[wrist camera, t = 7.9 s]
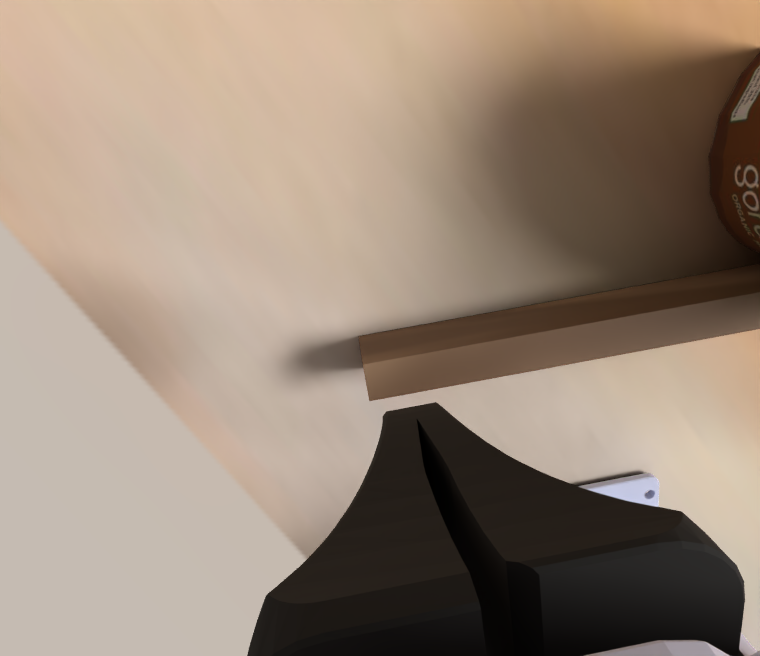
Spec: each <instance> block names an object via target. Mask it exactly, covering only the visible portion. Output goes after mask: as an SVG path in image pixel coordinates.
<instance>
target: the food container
mask: <svg viewBox="0 0 760 656" xmlns="http://www.w3.org/2000/svg"><path fill="white" fill-rule="evenodd" d="M709 181H710V195H711V198H712V201H713V204H714V206H715V209H716V212H717V215H718V218H719V219H720V221H721V222H722V224H723V225H724V227H725V228H726V230H727V231H728V232H729V233H730V234H731V235H732V236H733V237H734V238H735V239H736V240H737V241H738V242H740V243H741V244H743V245H744V246H746V247H748V248H749V249H751V250H754V251H756V252H759V253H760V53H759V54H758V55H757V57H756V58H755V59H754V60H753V61H752V63H751V64H750V65H749V66H748V67H747V68H746V70H745V71H744V72H743V73H742V74H741V76H740V78H739V80H738V81H737V83H736V85H735V87H734V89H733V91H732V93H731V94H730V96H729V98H728V100H727V102H726V104H725V106H724V107H723V109H722V111H721V113H720V115H719V118H718V122H717V126H716V130H715V134H714V138H713V142H712V146H711V149H710V153H709Z"/></svg>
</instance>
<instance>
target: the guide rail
mask: <svg viewBox="0 0 760 656" xmlns="http://www.w3.org/2000/svg"><path fill="white" fill-rule="evenodd" d="M756 329H760V264H756V265H751V266H745V267H740V268H734V269H729V270H723V271H718V272H712V273H706V274H701V275H695V276H690V277H684V278H679V279H673V280H668V281H662V282H657V283H651V284H646V285H640V286H634V287H629V288H623V289H618V290H612V291H607V292H601V293H596V294H590V295H585V296H579V297H574V298H568V299H562V300H557V301H551V302H546V303H540V304H535V305H529V306H524V307H518V308H513V309H507V310H502V311H496V312H490V313H485V314H479V315H474V316H468V317H463V318H457V319H452V320H446V321H441V322H435V323H430V324H424V325H418V326H413V327H407V328H402V329H396V330H391V331H385V332H380V333H374V334H369V335H363V336H358V337H359V343H360V350H361V356H362V363H363V368H364V374H365V379H366V385H367V390H368V396H369V401H373V400H378V399H384V398H389V397H394V396H400V395H405V394H411V393H416V392H421V391H427V390H432V389H438V388H443V387H448V386H454V385H459V384H465V383H470V382H475V381H481V380H486V379H492V378H497V377H502V376H508V375H513V374H519V373H524V372H529V371H535V370H540V369H546V368H551V367H556V366H562V365H567V364H573V363H578V362H583V361H589V360H594V359H599V358H605V357H610V356H616V355H621V354H626V353H632V352H637V351H643V350H648V349H653V348H659V347H664V346H670V345H675V344H680V343H686V342H691V341H697V340H702V339H707V338H713V337H718V336H724V335H729V334H734V333H740V332H745V331H751V330H756Z"/></svg>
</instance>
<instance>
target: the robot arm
mask: <svg viewBox="0 0 760 656" xmlns="http://www.w3.org/2000/svg"><path fill="white" fill-rule="evenodd" d="M647 491H649V492H648V493H646V492H647ZM645 493H646V494H645ZM658 504H659V480H658V479H657V478H656V477H655V476H654V475H653V474H651V473H644V474H639V475H633V476H628V477H623V478H618V479H613V480H608V481H603V482H597V483H592V484H587V485H582V486H575V485H572V484H570V483H567V482H564V481H562V480H559V479H556V478H554V477H551V476H549V475H547V474H544V473H542V472H540V471H537V470H535V469H533V468H531V467H529V466H527V465H525V464H523V463H521V462H519V461H517V460H515V459H513V458H512V457H510V456H508V455H506V454H505V453H503V452H501V451H500V450H498V449H497V448H495V447H493V446H492V445H490V444H489V443H487V442H486V441H484V440H483V439H482V438H480V437H479V436H477V435H476V434H475V433H473V432H472V431H471V430H469V429H468V428H467V427H465V426H464V425H463V424H462V423H460V422H459V421H458V420H457V419H456V418H454V417H453V416H452V415H451V414H450V413H448V412H447V411H446V410H445V409H444V408H443V407H442V406H440V405H439V404H438V403H430V404H425V405H420V406H414V407H409V408H403V409H398V410H393V411H387V412H386V413H385V414H384V416H383V424H382V430H381V435H380V439H379V442H378V445H377V448H376V451H375V454H374V457H373V460H372V462H371V465H370V467H369V469H368V472H367V474H366V476H365V478H364V481H363V483H362V485H361V487H360V489H359V491H358V492H357V494H356V496H355V498H354V499H353V501H352V503H351V504H350V506H349V508H348V509H347V511H346V512H345V514H344V515H343V517H342V518H341V519H340V521H339V522H338V524H337V525H336V527H335V528H334V529H333V531H332V532H331V533H330V534H329V536H328V537H327V538H326V539H325V541H324V542H323V543H322V544H321V545H320V546H319V547H318V548H317V549H316V551H315V552H314V553H313V554H312V555H311V556H310V557H309V558H308V559H307V560H306V561H305V562H304V563H303V564H302V565H301V566H300V567H299V568H297V570H295V571H294V572H293V573H292V574H291V575H290V576H288V577H287V578H286V579H285V580H284V581H283V582H281V583H280V584H279V585H278V586H277V587H276V588H274V589H273V590H272V591H271V592H269V593H268V594H267V596H266V597H265V600H264V603H263V606H262V608H261V611H260V614H259V617H258V620H257V623H256V627H255V630H254V633H253V637H252V640H251V643H250V647H249V651H248V655H247V656H760V651H758V652H757V650H756V649H755V648H754V647H753V646H752V645H751V643H750V642H749V641H748V640H747V639H746V638H745V636H744V635H743V634H742V633H741V628H742V620H743V611H744V602H745V593H744V581H743V578H742V576H741V574H740V572H739V570H738V567H737V565H736V564H735V563H734V562H733V561H732V560H731V559H730V558H729V557H728V556H727V555H726V554H725V553H724V552H723V551H722V550H721V549H720V548H719V547H718V546H717V544H716V543H715V542H714V541H713V540H712V539H711V538H710V537H709V536H708V535H707V534H706V533H705V532H704V531H703V530H702V529H700V528H699V527H698V526H697V525H696V524H695V523H694V522H693V521H692V520H690V519H689V518H688V517H687V516H686V515H685V514H684V513H683V512H681V511H676V510H671V509H666V508H661V507H658Z"/></svg>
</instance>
